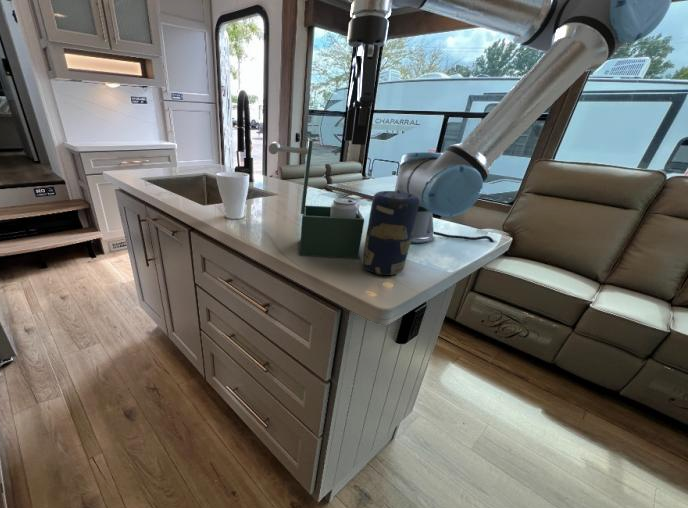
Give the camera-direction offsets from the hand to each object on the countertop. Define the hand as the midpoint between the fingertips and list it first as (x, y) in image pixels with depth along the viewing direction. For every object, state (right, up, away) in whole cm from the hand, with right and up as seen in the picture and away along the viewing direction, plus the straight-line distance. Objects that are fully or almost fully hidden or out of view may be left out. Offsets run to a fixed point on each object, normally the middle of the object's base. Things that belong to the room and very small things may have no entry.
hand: (353, 142), depth 71 cm
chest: (-4, -22, +13) cm, 26 cm away
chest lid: (-10, -6, +4) cm, 12 cm away
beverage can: (-1, -22, +12) cm, 25 cm away
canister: (+7, -29, +3) cm, 30 cm away
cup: (-33, -7, +36) cm, 49 cm away
